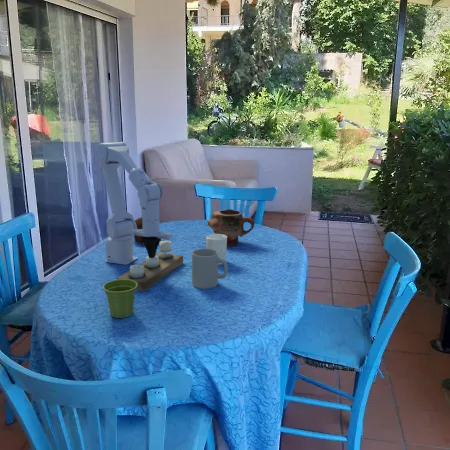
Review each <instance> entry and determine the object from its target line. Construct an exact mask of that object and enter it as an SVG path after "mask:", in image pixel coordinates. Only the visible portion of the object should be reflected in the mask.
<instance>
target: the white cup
mask: <svg viewBox="0 0 450 450" xmlns="http://www.w3.org/2000/svg"><path fill="white" fill-rule="evenodd" d="M205 244H206V246H205V247H206V248H205V249H213V250H216V251H217V252H218V258H222V259H224V260H226V258H227V257H226V255H227V247H228V246H227V236H226V235H223V234H215V233H211V234H206V236H205ZM226 261H227V260H226ZM221 265H223V264H222V263H218V266H221Z"/></svg>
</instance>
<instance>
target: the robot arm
mask: <svg viewBox="0 0 450 450" xmlns="http://www.w3.org/2000/svg"><path fill="white" fill-rule="evenodd" d="M96 157H97V162H98V165H99V168H101V169H102V173H103V179H104V183H105V188H106V192H107V198H108V201H109V206H110V212H111V214H110V215H109V216H108V218H107V219H106V232H107V233H106V234H107V236H108V238H107V239H106V242H105V253H106V259H105V260H104V261H105V263H113V264H118V265H124V266H126V265H129V264H131V263H132V262H134V261H136V260H138V259H139V258H138V256H134V250H133V247H134V246H133V238H134V236H135V235H136V236H143V239H142V242H143V243H142V244H143V245H144V247H145V249H146V253H147V256H149V258H153V257H155V255H156V254H157V250H158V248H159V247H158V246H159V245H160V244H159V242H161V241H162V239H163V240H166V241H171V240H172V239H173V237H172V236H173V234H172V233H171V232H167V231H163V230H161V229H160V228H161V227H160V200H161V199H162V196H163V189H162V187H161V184H160V183H159V182H155V181H153V180H152V179H151V178H150V176H148V174H147V173H146V172H145V170H144V169H143V168H140V167H137V165H136V163H135V161H133V159H132V157H131V156H130V149H129V146H128V145H127V143H126V142H125V141H120V142H119V141H118V142H117V141H116V142H99V144H97V147H96ZM120 166H121V167H122V168H123V169H124V170H125V171H126V172H127V173H128V180H129V181H130V182H131V184H132V185H133V187H134V188H135V189H136V191H137V197H138V200H139V205H140V207H141V217H142V225H143V229H137V225H136V223H135V220H134V215H133V214H131V213H129V212H128V211H127V209H126V205H125V200H124V197H123V192H122V186H121V182H120V177H119V172H118V168H119V167H120Z"/></svg>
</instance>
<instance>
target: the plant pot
mask: <svg viewBox="0 0 450 450" xmlns="http://www.w3.org/2000/svg"><path fill="white" fill-rule="evenodd" d="M137 286H138V284H137V282H135V281H133V280H128V279H118V280H117V279H113V280H110V281H109V280H108V281H107V282H105V283H104V284H103V286H102V289H103V290H104V293H105V295H106V299H107V302H108V303H107V304H108V308H109V313H110V316H112V317H113V318H116V319H124V318H127V317H129V316H132V314H133V313H134V305H135V304H134V302H135V295H136V291H137V290H136V288H137Z"/></svg>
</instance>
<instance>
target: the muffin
mask: <svg viewBox="0 0 450 450" xmlns="http://www.w3.org/2000/svg"><path fill="white" fill-rule="evenodd" d="M134 221H135V223H136V225H137V229H143V225H142V216H140V217H138V218H136V219H135V220H134ZM133 238H134V242H135V243H137V244H138V243H139V244H143V242H142V239H143V236H136V235H135V236H134V237H133Z"/></svg>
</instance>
